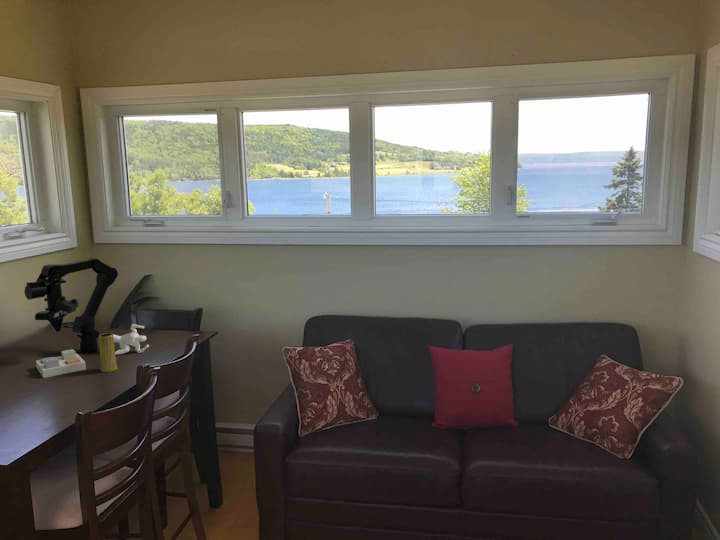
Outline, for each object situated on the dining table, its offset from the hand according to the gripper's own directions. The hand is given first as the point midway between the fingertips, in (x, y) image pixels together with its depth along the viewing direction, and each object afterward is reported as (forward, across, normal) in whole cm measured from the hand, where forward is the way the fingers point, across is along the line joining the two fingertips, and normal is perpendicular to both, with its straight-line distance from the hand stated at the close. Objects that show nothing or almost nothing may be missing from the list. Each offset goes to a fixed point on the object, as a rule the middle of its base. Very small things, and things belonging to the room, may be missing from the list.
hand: (58, 331), depth 235 cm
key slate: (+11, -12, -3) cm, 16 cm away
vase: (+12, -12, -28) cm, 33 cm away
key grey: (+9, -17, -8) cm, 21 cm away
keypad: (+12, -12, -8) cm, 18 cm away
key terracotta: (+11, -12, -13) cm, 21 cm away
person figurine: (+12, +11, -23) cm, 29 cm away
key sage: (+9, -6, -8) cm, 14 cm away
